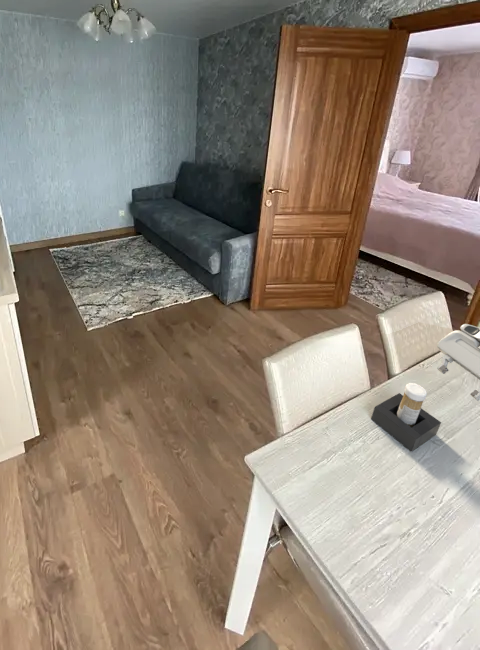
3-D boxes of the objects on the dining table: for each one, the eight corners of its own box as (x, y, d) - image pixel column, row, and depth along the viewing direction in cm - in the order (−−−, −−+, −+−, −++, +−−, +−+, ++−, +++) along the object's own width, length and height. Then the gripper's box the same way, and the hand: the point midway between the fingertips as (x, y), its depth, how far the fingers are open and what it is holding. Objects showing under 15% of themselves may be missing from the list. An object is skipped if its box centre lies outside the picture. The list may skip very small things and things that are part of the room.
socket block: (395, 404, 100) (399, 392, 98) (436, 434, 91) (441, 422, 89) (370, 419, 95) (374, 406, 93) (411, 452, 86) (416, 439, 84)
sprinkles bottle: (396, 416, 96) (409, 379, 91) (415, 427, 93) (429, 389, 88) (390, 426, 93) (403, 388, 88) (409, 437, 90) (424, 398, 85)
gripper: (551, 384, 80) (501, 421, 82) (466, 331, 98) (427, 363, 100) (543, 371, 77) (493, 410, 79) (458, 320, 96) (419, 352, 98)
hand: (456, 383), depth 90 cm, fingers open, 8 cm apart
